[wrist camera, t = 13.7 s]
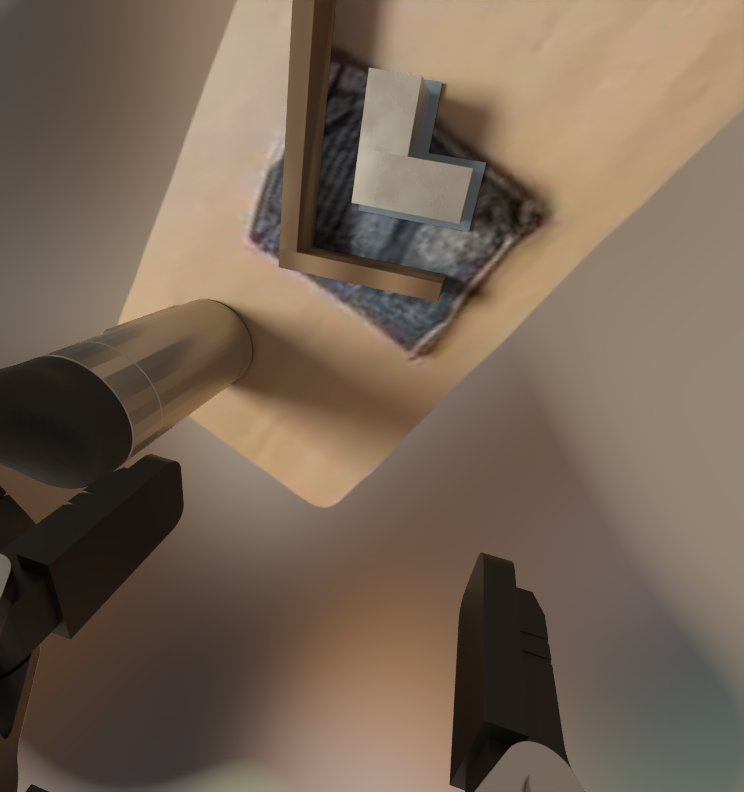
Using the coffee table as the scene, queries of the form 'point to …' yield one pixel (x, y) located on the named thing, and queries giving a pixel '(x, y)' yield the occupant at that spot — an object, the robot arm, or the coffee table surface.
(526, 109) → the coffee table surface
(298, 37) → the corner frame
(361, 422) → the coffee table surface
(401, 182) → the aluminium bracket
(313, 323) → the coffee table surface
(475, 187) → the mat
